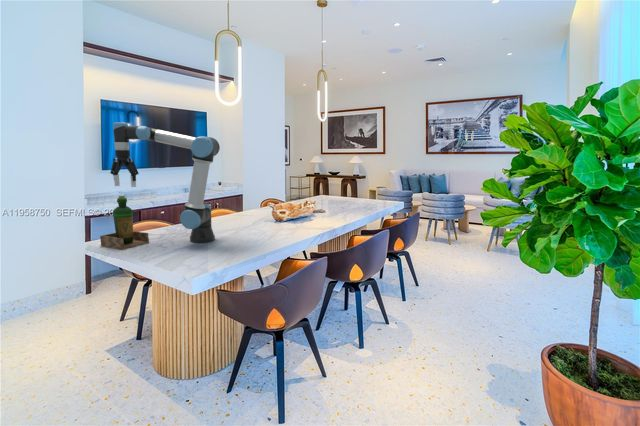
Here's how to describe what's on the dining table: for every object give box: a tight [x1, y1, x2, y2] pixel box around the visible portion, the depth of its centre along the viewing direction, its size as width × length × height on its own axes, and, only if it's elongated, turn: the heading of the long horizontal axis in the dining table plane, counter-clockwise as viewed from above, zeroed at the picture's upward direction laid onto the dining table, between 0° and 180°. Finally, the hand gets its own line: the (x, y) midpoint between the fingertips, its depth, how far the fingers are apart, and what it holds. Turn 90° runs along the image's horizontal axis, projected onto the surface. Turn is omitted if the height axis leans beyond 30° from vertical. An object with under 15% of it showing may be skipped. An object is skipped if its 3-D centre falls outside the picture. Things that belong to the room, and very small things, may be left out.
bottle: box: [112, 195, 134, 244], centre depth 215 cm, size 11×11×28 cm
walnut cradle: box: [99, 230, 150, 251], centre depth 217 cm, size 18×18×6 cm
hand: (125, 186), depth 214 cm, fingers open, 13 cm apart
